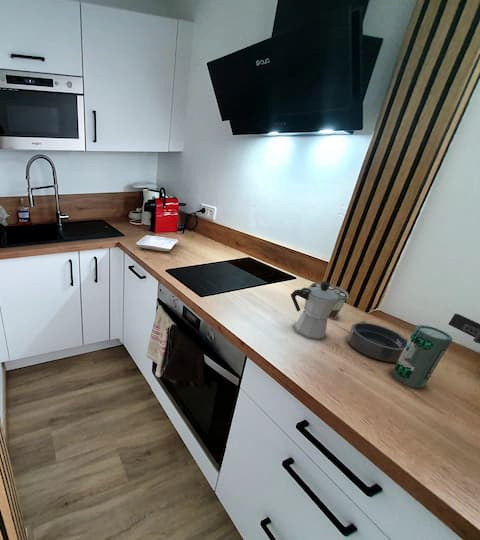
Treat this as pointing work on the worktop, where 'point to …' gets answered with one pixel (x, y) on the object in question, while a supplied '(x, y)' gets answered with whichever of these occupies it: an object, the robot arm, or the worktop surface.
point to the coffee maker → (315, 310)
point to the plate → (157, 243)
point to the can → (421, 356)
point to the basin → (377, 341)
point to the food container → (340, 303)
